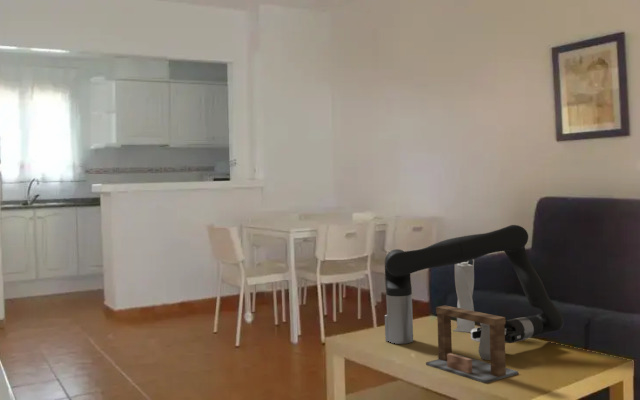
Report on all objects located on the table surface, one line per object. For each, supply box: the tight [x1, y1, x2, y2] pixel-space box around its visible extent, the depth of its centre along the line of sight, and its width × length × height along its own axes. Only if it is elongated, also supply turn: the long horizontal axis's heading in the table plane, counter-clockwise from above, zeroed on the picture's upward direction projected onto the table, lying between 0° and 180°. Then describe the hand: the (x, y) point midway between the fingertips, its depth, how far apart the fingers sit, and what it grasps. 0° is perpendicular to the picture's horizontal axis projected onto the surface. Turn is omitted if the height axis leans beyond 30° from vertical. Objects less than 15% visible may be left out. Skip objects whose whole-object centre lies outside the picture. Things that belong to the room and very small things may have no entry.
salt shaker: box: [478, 323, 491, 361], centre depth 219 cm, size 6×6×13 cm
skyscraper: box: [452, 259, 476, 334], centre depth 258 cm, size 8×8×28 cm
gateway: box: [425, 304, 519, 384], centre depth 208 cm, size 25×14×18 cm, turn 34°
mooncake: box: [470, 326, 481, 343], centre depth 245 cm, size 12×12×4 cm
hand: (483, 337), depth 218 cm, fingers open, 8 cm apart
